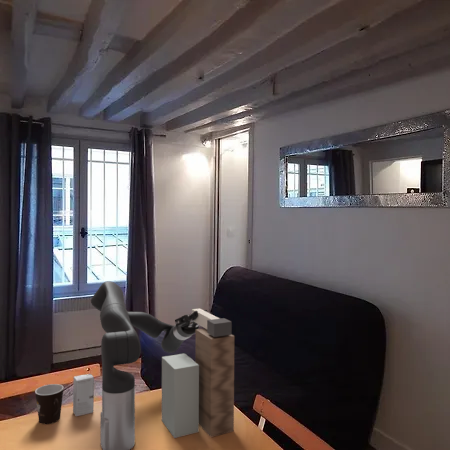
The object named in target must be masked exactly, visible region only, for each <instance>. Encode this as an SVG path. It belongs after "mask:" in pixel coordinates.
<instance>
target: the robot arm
mask: <svg viewBox="0 0 450 450" xmlns="http://www.w3.org/2000/svg"><path fill="white" fill-rule="evenodd" d="M90 303H91V305H92V306H93V308H95V309H96V310H97V311H99V312H100V313H99V318H100V319H99V320H100V325H101V328H102V330H103V331H104V332H105V333H104V334H103V335H102V338H101V340H100V341H101V342H100V343H101V345H100V347H101V348H100V349H101V351H100V353H101V366H102V367H101V368H102V369H101V370H102V374H101V375H102V376H101V378H102V379H101V381H102V382H101V386H102V387H101V389H102V390H101V393H102V394H101V395H102V396H101V407H102V409H101V412H100V446H101V449H102V450H131V449H133V447H134V446H135V443H136V442H135V440H136V439H135V438H136V434H135V433H136V431H135V429H136V428H135V426H136V424H135V420H136V419H135V418H136V417H135V416H136V415H135V414H136V412H135V410H136V407H135V406H136V405H135V404H136V403H135V401H136V400H135V399H136V395H135V392H136V391H135V389H136V388H135V387H136V382H135V381H136V380H135V375H133V374H132V373H130V372H129V371H124V370H120V369H118V368H116V367H115V366H121V365H127V364H133V363H135V362H137V361H138V360H139V358H140V356H141V352H142V351H141V348H142V347H141V346H142V345H141V341H140V338H139V335H138V333H137V331H136V330H135V328H136V329H138V330H140V331H141V332H143V333H144V334H146V335H148V336H149V337H151V338H154V339H156V338H158V337H159V336H160V335H161V334H162V332H165V334H164V336H163V338H162V340H161V343H160V344H161V348H162V350H163V351H164V352H166V353H167V354H171V353H176V352H177V351H178V350H179V348H180V347H181V346H182V344H183V343H184V341H186V340H187V339H190V338H191V337H192V336H193V335H194V334H196V329H200V328H199V327H200V325H199V324H197V323H195V322H194V320H195V319H196V318H197V317H198V311H195V312H193V313H192V312H191V313H190V314H189V313H188V314H184V315H182V316H181V317H180V316H179V317H178V318H176V319H174V323H175V324H174V325H173V324H170V323H167V322H164V321H161V320H160V319H158V318H156V317H155V316H153V315H152V314H151V313H147V312H143V311H128V310H127V307H126V305H125V298H124V292H123V289H122V288H121V287H120V286H119V285H118V283H116V282H113V281H110V280H108V281H104V282H103V283H102V284H101V285H100V286H99V287H98V288H97V290H96V291H95V293H94V294H93V296H92V297H91V299H90ZM203 310H204V311H206V312H208V313H209V311H208V309H203Z"/></svg>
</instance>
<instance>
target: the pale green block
mask: <svg viewBox="0 0 450 450" xmlns="http://www.w3.org/2000/svg"><path fill="white" fill-rule="evenodd" d="M161 422H162V423H163V424H164V427H166V428H167V430H168V432H169V433H170V434H171V436H172V437H173V438H174V439H176V438H180V437H184V436H187V435H192V434H196V433H199V429H200V428H199V427H200V425H199V365H198V364H197V363H196V362H195V361H194V360H193V358H191V357H190V356H188V355H187V354H186V353H179V354H174V355H165V356H161Z"/></svg>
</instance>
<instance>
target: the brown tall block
mask: <svg viewBox="0 0 450 450" xmlns="http://www.w3.org/2000/svg"><path fill="white" fill-rule="evenodd" d="M194 350H195V352H194V353H195V355H194V356H195V362H196V363H197V364H198V365H199V427H201V428H202V429H203V431H204V432H205V433H206V434H207V435H208V436H209V437H210V438H213V437H217V436H220V435H224V434H228V433H233V432H234V431H235V430H234V429H235V426H234V425H235V424H234V423H235V421H234V420H235V335H234V334H232V335H225V336H218V337H213V336H212V335H210V334H208V333H207V329H205V328H204V327H202V328H198V329H196V333H195V349H194Z"/></svg>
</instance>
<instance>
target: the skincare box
mask: <svg viewBox="0 0 450 450" xmlns="http://www.w3.org/2000/svg"><path fill="white" fill-rule="evenodd" d="M72 386H73V391H72V394H73V395H72V401H73V402H72V412H73V414H74V416H75V417H78V416H85V415H88V414H89V415H90V414H92V413H93V412H94V406H95V405H94V400H95V399H94V397H95V396H94V394H95V377H94V376H93V375H92V374H91V373H88V374H80V375H75V376H73V385H72Z"/></svg>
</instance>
